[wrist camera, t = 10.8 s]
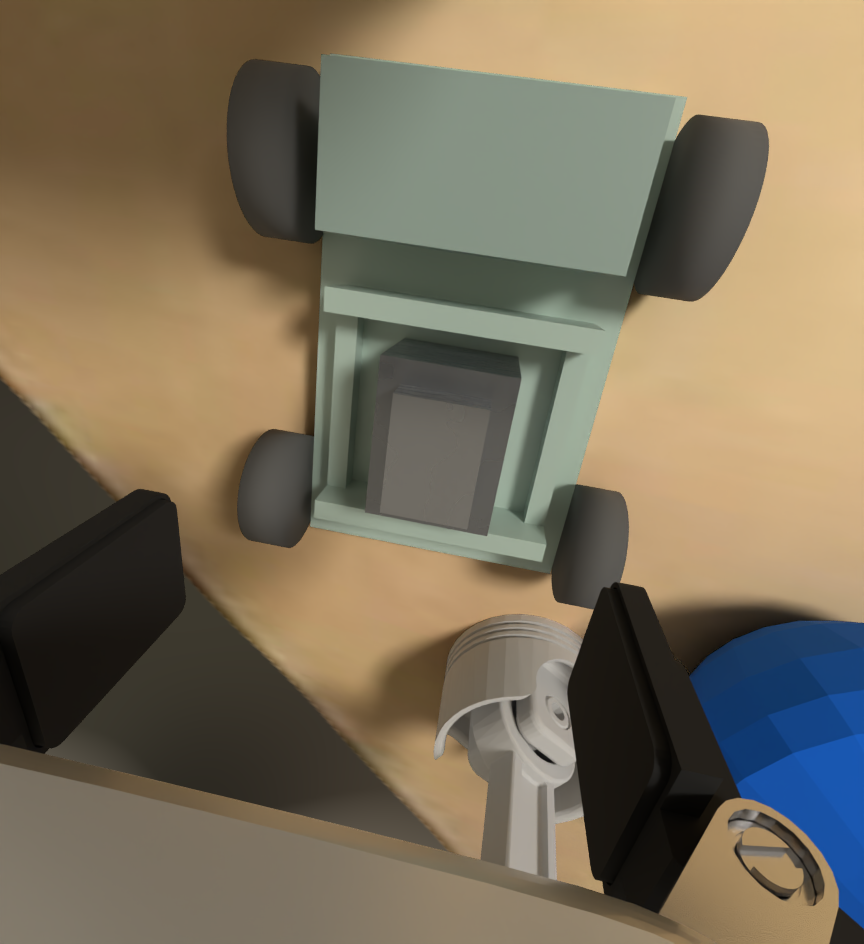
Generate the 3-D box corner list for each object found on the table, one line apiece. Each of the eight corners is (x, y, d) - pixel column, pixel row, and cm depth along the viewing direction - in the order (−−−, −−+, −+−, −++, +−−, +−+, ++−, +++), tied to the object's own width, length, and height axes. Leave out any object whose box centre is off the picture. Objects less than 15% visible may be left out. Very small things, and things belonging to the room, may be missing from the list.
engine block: (404, 337, 23) (370, 361, 17) (518, 356, 23) (523, 387, 17) (389, 469, 26) (355, 529, 20) (490, 488, 26) (485, 555, 20)
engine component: (522, 749, 35) (632, 680, 31) (541, 1304, 16) (824, 1298, 12) (407, 663, 33) (509, 577, 29) (280, 1169, 15) (515, 1115, 11)
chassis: (297, 62, 21) (213, -21, 15) (724, 115, 19) (820, 48, 14) (288, 508, 30) (233, 568, 24) (581, 565, 28) (602, 644, 22)
